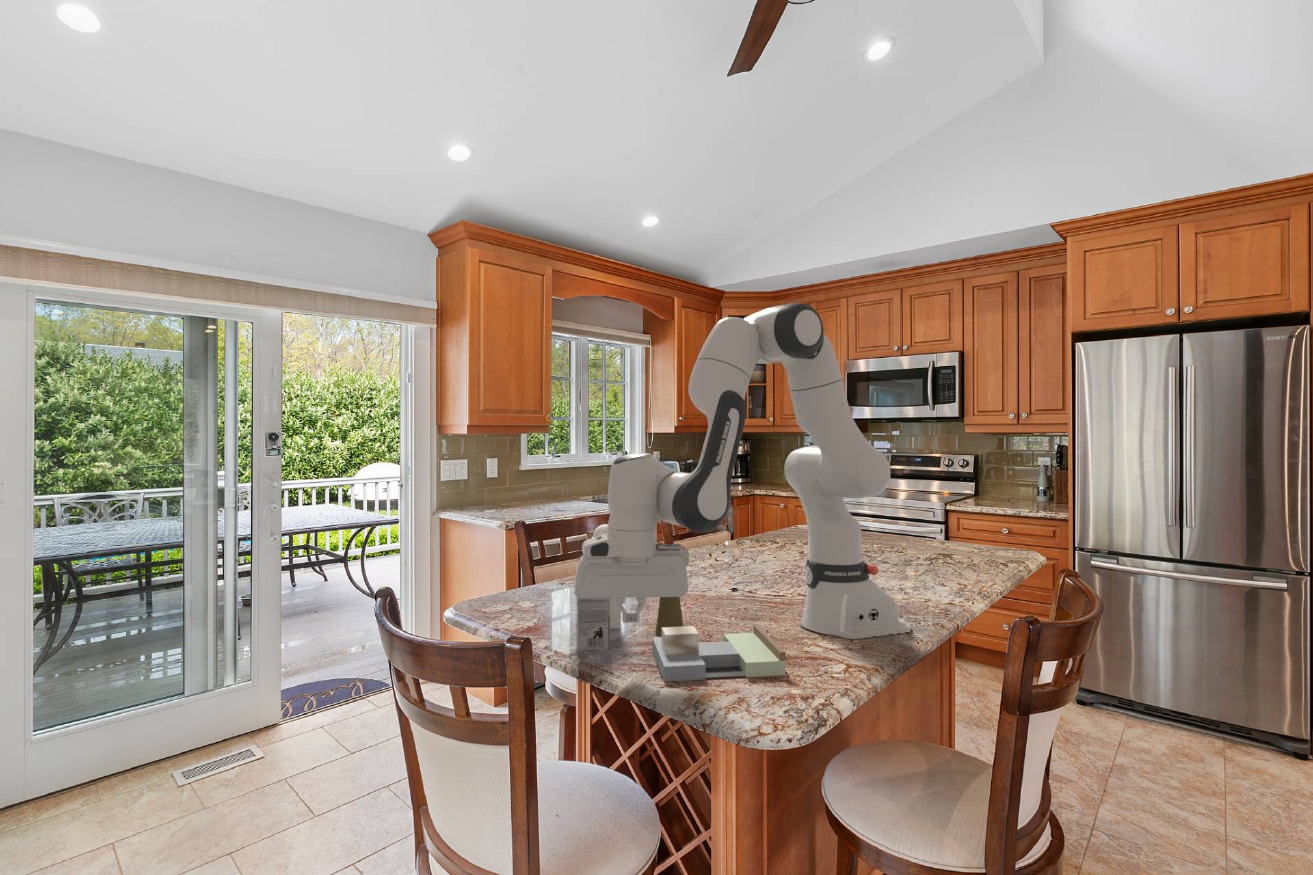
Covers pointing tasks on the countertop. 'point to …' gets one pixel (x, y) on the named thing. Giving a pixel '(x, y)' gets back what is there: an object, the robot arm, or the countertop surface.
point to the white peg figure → (614, 608)
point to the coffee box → (593, 623)
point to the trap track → (724, 658)
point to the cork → (669, 614)
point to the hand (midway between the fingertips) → (630, 621)
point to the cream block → (680, 640)
